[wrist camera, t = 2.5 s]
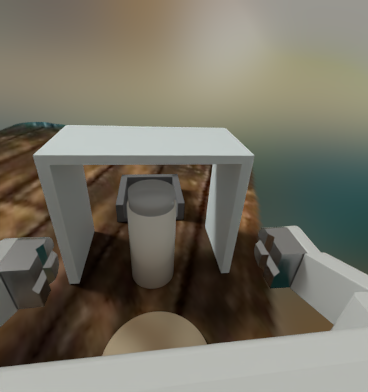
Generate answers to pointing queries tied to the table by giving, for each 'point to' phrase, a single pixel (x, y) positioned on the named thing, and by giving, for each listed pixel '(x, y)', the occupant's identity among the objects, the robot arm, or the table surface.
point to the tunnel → (140, 154)
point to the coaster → (154, 334)
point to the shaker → (152, 232)
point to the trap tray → (131, 179)
